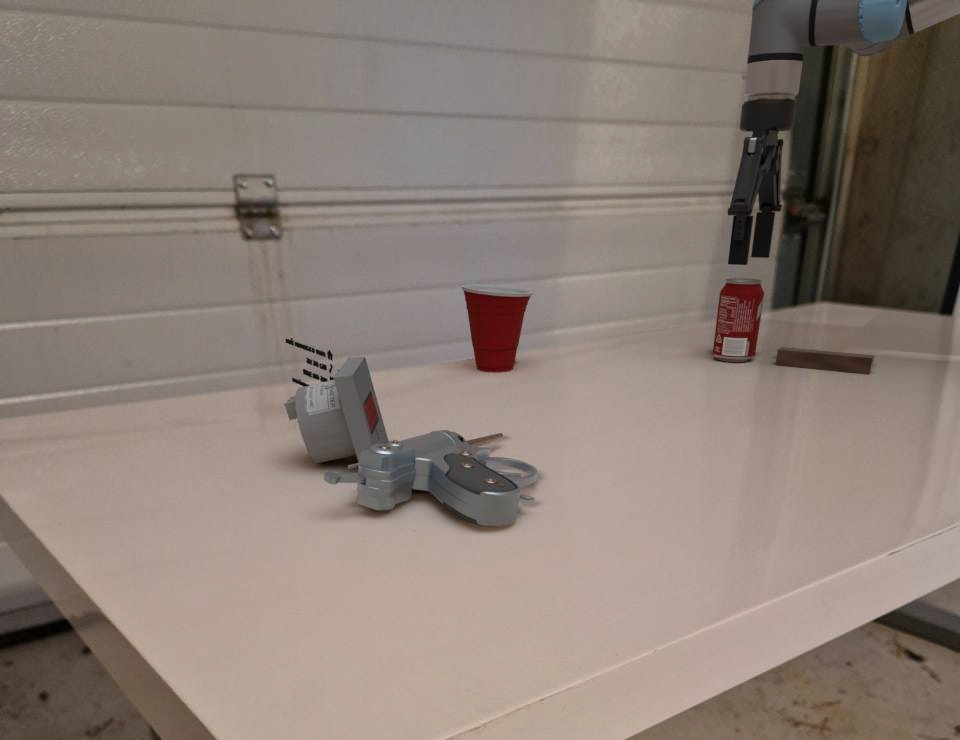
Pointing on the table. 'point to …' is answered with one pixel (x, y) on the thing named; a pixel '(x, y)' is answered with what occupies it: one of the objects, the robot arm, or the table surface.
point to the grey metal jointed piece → (441, 476)
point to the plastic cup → (495, 323)
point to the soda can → (738, 320)
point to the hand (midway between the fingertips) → (749, 261)
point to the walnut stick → (825, 360)
